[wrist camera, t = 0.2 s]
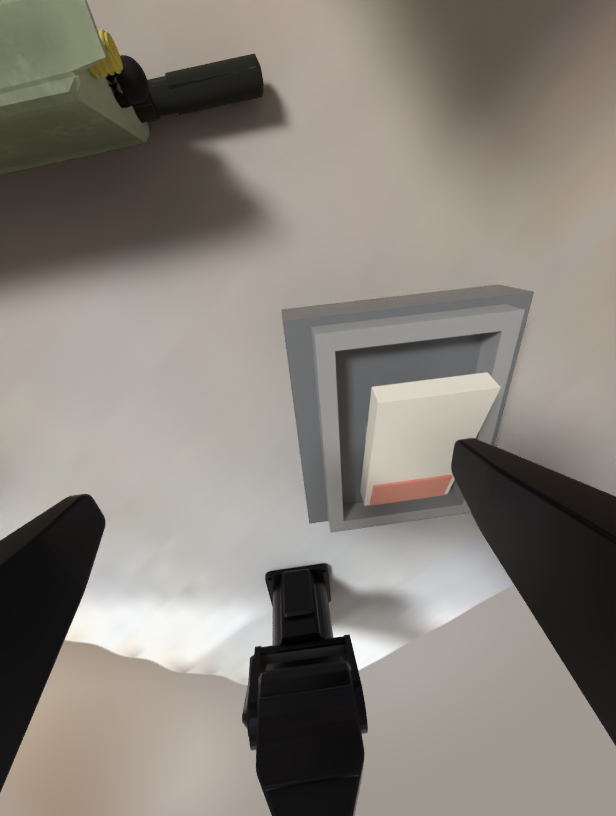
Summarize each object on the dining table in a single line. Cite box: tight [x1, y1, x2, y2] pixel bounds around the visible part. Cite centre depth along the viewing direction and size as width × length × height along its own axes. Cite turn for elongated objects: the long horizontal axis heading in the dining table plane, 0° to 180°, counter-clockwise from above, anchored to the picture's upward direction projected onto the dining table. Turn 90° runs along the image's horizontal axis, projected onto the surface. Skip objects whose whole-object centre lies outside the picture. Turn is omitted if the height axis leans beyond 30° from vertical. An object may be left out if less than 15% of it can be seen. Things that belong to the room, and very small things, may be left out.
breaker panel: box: [282, 285, 534, 532], centre depth 21 cm, size 16×14×4 cm
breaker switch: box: [360, 372, 501, 506], centre depth 18 cm, size 10×6×1 cm, turn 5°
